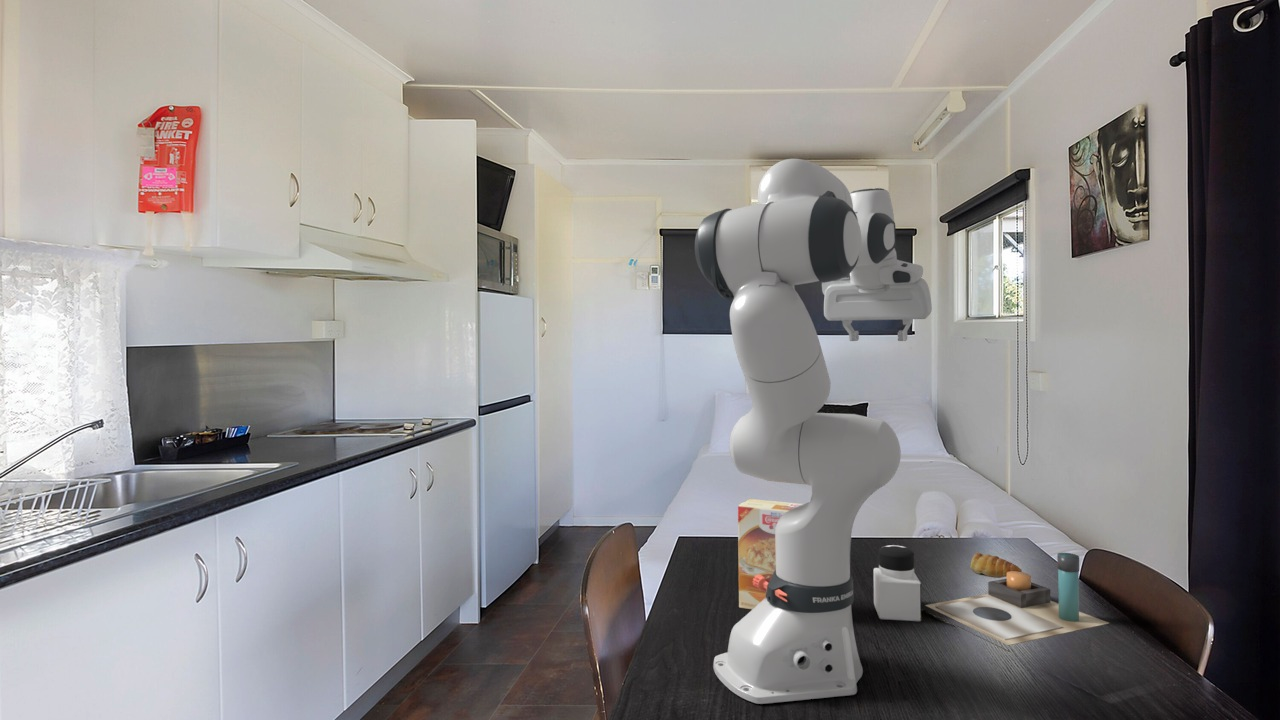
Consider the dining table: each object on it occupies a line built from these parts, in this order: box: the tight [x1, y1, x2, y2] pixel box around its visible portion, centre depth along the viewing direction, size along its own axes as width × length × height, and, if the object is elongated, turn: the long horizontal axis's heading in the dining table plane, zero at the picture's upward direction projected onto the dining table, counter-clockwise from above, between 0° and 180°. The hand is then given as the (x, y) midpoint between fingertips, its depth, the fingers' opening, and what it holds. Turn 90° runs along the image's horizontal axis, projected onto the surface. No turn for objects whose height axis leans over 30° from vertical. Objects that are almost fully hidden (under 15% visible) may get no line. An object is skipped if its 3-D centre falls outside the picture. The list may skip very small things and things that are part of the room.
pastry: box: [970, 552, 1023, 579], centre depth 143 cm, size 9×7×4 cm
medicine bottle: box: [873, 544, 922, 622], centre depth 122 cm, size 7×7×12 cm
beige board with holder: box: [924, 578, 1110, 652], centre depth 119 cm, size 23×18×4 cm
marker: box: [1056, 552, 1080, 622], centre depth 116 cm, size 3×3×11 cm
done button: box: [1006, 571, 1032, 591], centre depth 126 cm, size 4×4×3 cm
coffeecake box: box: [737, 498, 804, 610], centre depth 126 cm, size 15×7×20 cm, turn 62°
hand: (878, 340), depth 134 cm, fingers open, 8 cm apart
